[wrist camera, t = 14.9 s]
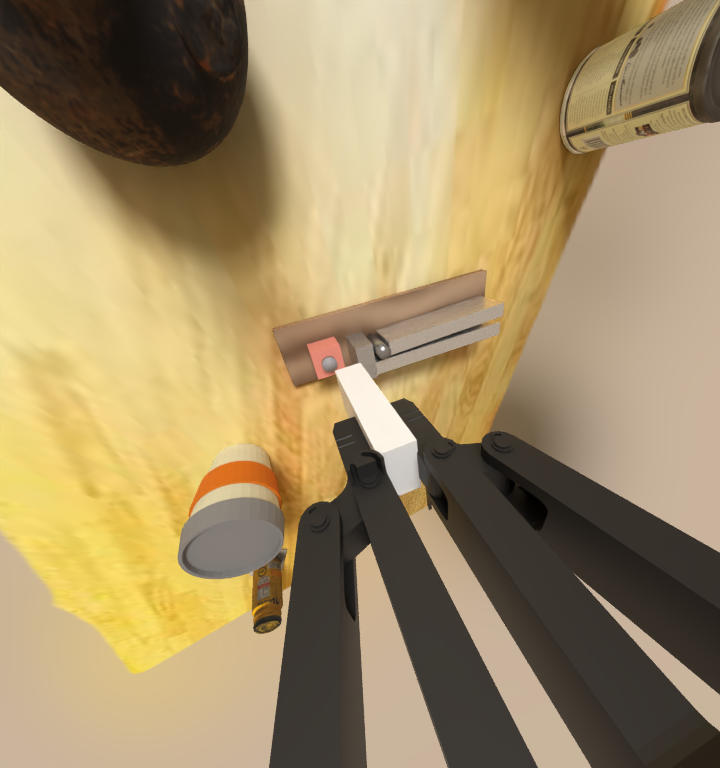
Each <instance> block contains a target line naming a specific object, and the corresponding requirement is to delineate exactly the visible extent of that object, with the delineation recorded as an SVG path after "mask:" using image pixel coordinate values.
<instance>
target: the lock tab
mask: <svg viewBox="0 0 720 768" xmlns="http://www.w3.org/2000/svg"><path fill="white" fill-rule="evenodd" d="M307 347H308V350H309V353H310V356H311V359H312V362H313V366H314V369H315V371H316V374H317V377H318V380H319V379H322V378H326V377H329V376H332V375H335V371H336V370H339V369H342V368H345V365H344V361H343V357H342V353H341V349H340V345H339V343H338V342H337V340H336V339H335V337H334V336H333V337H330V338H327V339H323V340H320V341H317V342H313V343H310V344H307Z"/></svg>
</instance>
